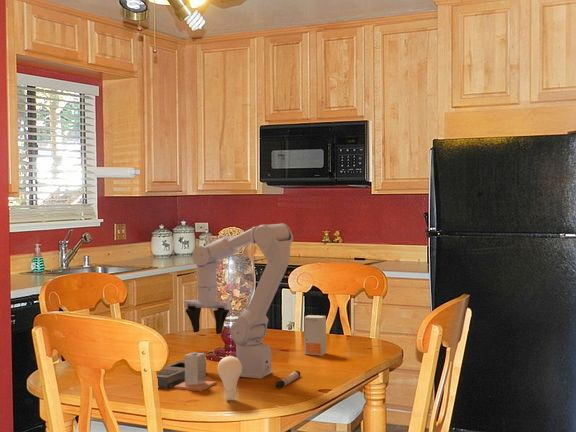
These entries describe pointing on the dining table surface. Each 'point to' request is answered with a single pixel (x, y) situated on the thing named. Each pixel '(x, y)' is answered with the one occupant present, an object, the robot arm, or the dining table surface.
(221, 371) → the lightbulb
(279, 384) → the marker
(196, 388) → the mat
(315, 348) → the skincare box
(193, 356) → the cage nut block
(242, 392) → the dining table surface
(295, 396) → the dining table surface
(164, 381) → the grey slotted tray
